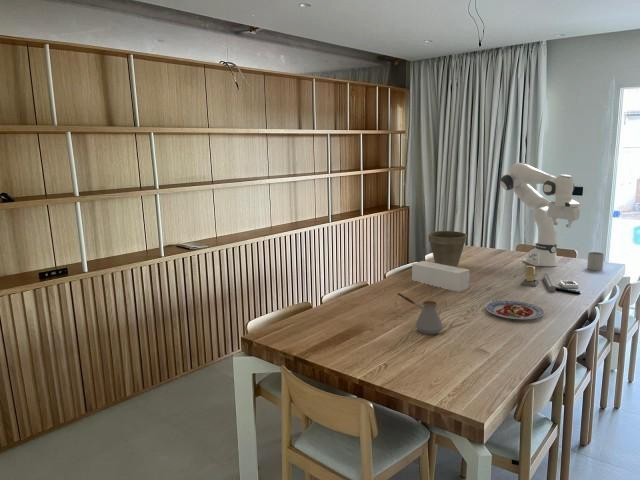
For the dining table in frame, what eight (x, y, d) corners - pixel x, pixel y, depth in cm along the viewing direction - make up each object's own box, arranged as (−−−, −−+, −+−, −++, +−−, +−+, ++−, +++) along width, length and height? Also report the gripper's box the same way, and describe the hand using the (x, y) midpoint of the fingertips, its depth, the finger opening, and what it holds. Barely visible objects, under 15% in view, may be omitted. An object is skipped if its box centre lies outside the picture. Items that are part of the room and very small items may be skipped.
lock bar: (526, 282, 271) (527, 265, 269) (534, 283, 269) (535, 266, 267) (525, 284, 268) (526, 266, 266) (532, 285, 266) (534, 267, 264)
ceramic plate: (496, 301, 240) (496, 295, 240) (550, 311, 224) (551, 305, 224) (477, 315, 221) (477, 309, 220) (535, 327, 205) (535, 321, 204)
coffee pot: (446, 329, 204) (447, 296, 202) (436, 338, 195) (437, 304, 192) (402, 320, 217) (402, 289, 214) (390, 328, 207) (390, 296, 205)
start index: (559, 283, 267) (559, 280, 266) (573, 284, 265) (574, 281, 265) (563, 287, 260) (563, 284, 259) (578, 288, 258) (578, 284, 258)
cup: (598, 267, 301) (599, 252, 299) (604, 270, 293) (606, 254, 291) (584, 267, 302) (586, 252, 300) (590, 270, 294) (592, 255, 292)
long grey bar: (543, 278, 278) (543, 273, 277) (548, 279, 277) (549, 273, 276) (549, 291, 254) (549, 285, 253) (555, 291, 253) (555, 285, 252)
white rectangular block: (412, 281, 282) (412, 263, 280) (422, 277, 289) (423, 260, 287) (458, 292, 258) (458, 273, 256) (469, 288, 265) (469, 269, 263)
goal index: (524, 281, 274) (524, 278, 273) (538, 283, 269) (538, 279, 269) (521, 284, 267) (521, 281, 267) (535, 286, 263) (536, 283, 263)
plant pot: (465, 271, 300) (466, 237, 296) (426, 268, 308) (426, 236, 304) (466, 262, 324) (467, 231, 320) (430, 260, 332) (430, 230, 327)
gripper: (545, 201, 280) (543, 224, 283) (573, 204, 261) (571, 229, 264) (553, 200, 282) (552, 223, 285) (582, 204, 263) (580, 228, 266)
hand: (561, 226), depth 274 cm, fingers open, 8 cm apart
